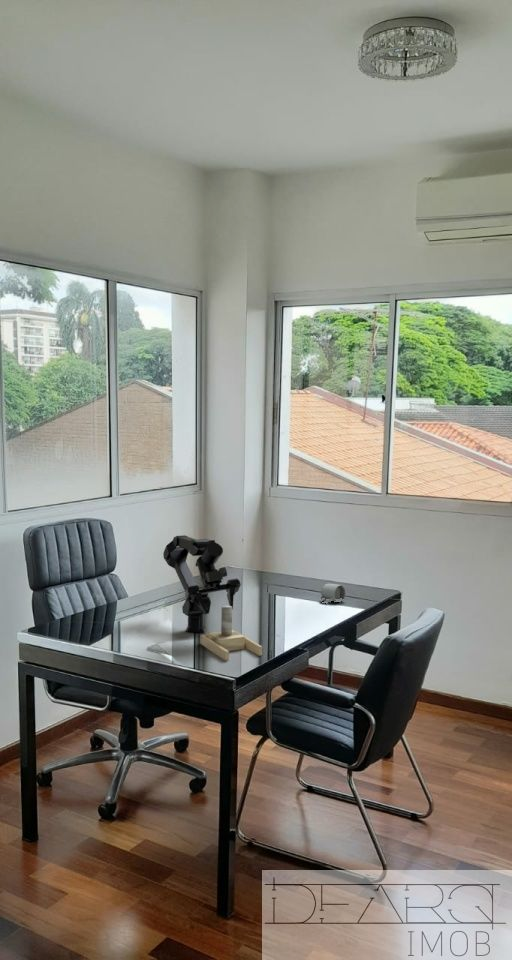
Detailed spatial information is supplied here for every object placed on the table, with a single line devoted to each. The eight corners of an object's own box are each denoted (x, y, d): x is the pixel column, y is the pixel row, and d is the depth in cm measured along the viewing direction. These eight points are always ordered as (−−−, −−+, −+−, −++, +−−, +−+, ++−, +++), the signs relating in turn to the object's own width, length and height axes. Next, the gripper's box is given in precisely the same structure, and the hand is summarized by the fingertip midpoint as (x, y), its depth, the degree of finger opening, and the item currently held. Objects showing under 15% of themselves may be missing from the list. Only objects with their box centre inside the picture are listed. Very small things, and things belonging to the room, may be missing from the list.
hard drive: (146, 646, 259) (176, 653, 252) (162, 640, 266) (191, 647, 259) (146, 651, 259) (176, 658, 252) (162, 645, 266) (191, 652, 259)
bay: (198, 646, 264) (198, 634, 263) (235, 641, 270) (235, 630, 270) (224, 664, 246) (224, 651, 246) (263, 658, 253) (263, 646, 252)
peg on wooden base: (208, 644, 262) (208, 605, 261) (232, 641, 267) (232, 602, 265) (219, 652, 255) (220, 611, 253) (244, 648, 259) (245, 608, 258)
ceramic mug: (330, 598, 335) (330, 580, 334) (345, 601, 329) (346, 583, 328) (314, 602, 327) (315, 584, 326) (330, 606, 322) (330, 588, 321)
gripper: (185, 564, 262) (196, 606, 254) (237, 556, 268) (250, 596, 261) (180, 579, 271) (191, 620, 263) (231, 571, 277) (243, 610, 269)
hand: (219, 611), depth 264 cm, fingers open, 9 cm apart
